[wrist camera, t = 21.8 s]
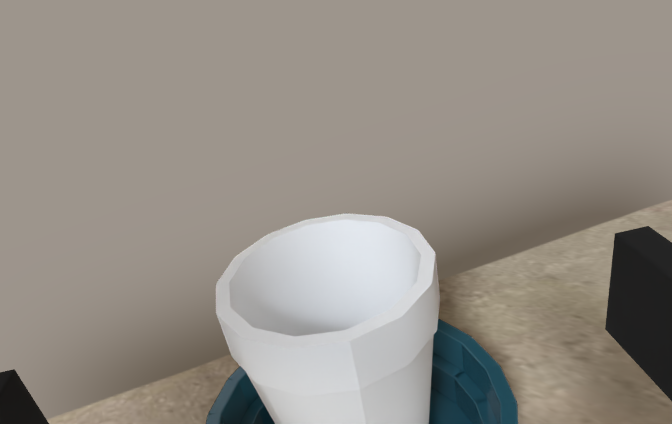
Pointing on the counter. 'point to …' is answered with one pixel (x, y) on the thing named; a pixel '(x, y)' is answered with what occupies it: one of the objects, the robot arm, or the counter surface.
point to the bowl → (445, 399)
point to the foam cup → (335, 320)
